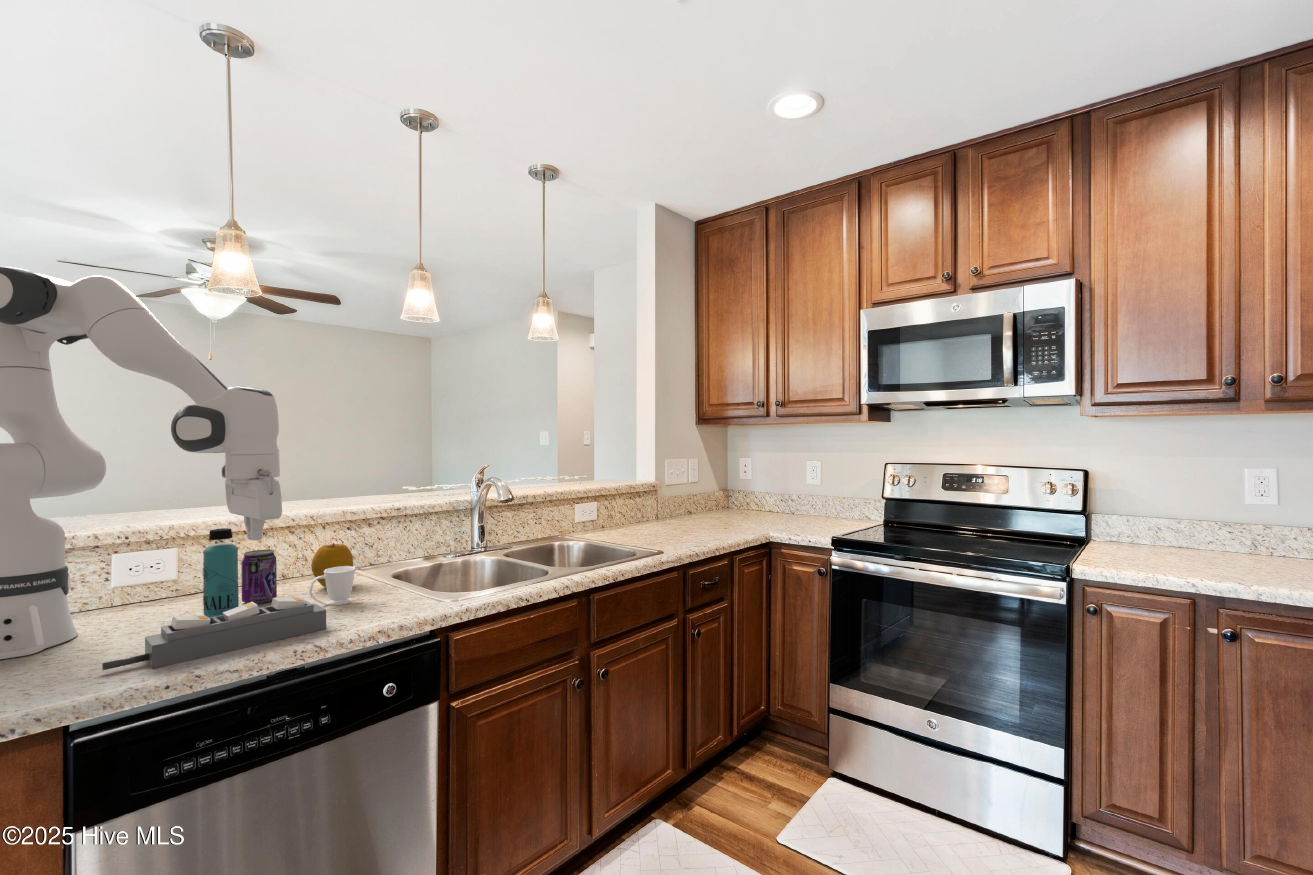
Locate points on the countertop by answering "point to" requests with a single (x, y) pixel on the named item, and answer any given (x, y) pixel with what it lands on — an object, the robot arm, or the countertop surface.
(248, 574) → the beverage can
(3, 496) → the robot arm
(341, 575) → the cup
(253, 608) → the rocker
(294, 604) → the rocker
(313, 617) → the rocker switch panel
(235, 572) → the beverage bottle
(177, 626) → the block
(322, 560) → the apple
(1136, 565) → the countertop surface
